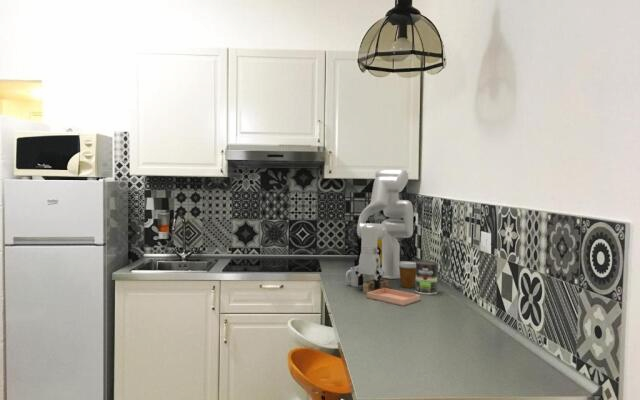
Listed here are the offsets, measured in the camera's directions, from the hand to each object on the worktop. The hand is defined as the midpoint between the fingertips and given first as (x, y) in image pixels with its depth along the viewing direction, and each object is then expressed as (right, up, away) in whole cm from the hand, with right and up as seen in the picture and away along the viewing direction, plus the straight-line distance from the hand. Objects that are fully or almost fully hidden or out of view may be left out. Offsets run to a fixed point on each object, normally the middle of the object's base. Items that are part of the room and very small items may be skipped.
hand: (368, 286), depth 221 cm
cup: (-6, -2, +13) cm, 15 cm away
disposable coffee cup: (+21, -2, +12) cm, 24 cm away
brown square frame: (+3, -2, +4) cm, 5 cm away
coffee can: (+27, -3, 0) cm, 27 cm away
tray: (+9, -3, -15) cm, 18 cm away
